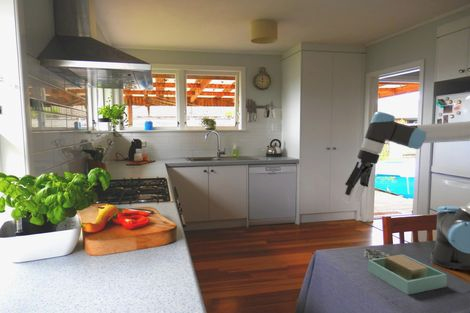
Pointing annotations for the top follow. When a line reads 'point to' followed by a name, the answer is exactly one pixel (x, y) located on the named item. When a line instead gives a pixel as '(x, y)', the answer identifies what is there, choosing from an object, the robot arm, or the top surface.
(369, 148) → the robot arm
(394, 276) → the tote
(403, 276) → the tan cardboard block
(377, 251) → the egg carton
